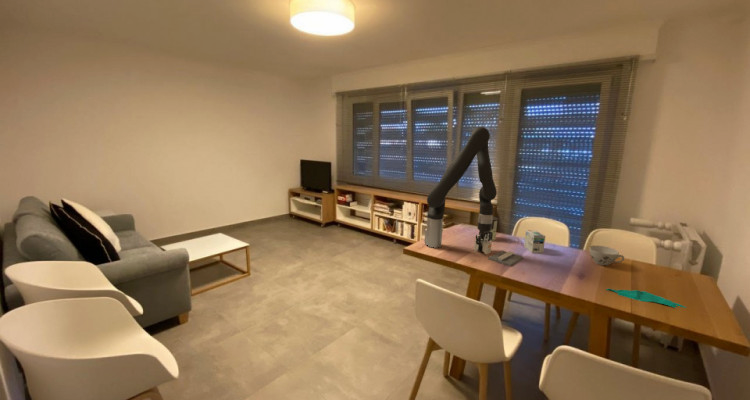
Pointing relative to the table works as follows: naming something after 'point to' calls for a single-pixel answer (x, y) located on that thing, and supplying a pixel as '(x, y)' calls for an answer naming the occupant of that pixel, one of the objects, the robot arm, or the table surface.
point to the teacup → (604, 255)
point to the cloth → (645, 297)
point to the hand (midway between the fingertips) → (482, 250)
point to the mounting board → (508, 261)
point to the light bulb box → (534, 241)
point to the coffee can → (493, 228)
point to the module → (484, 247)
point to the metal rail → (505, 256)
